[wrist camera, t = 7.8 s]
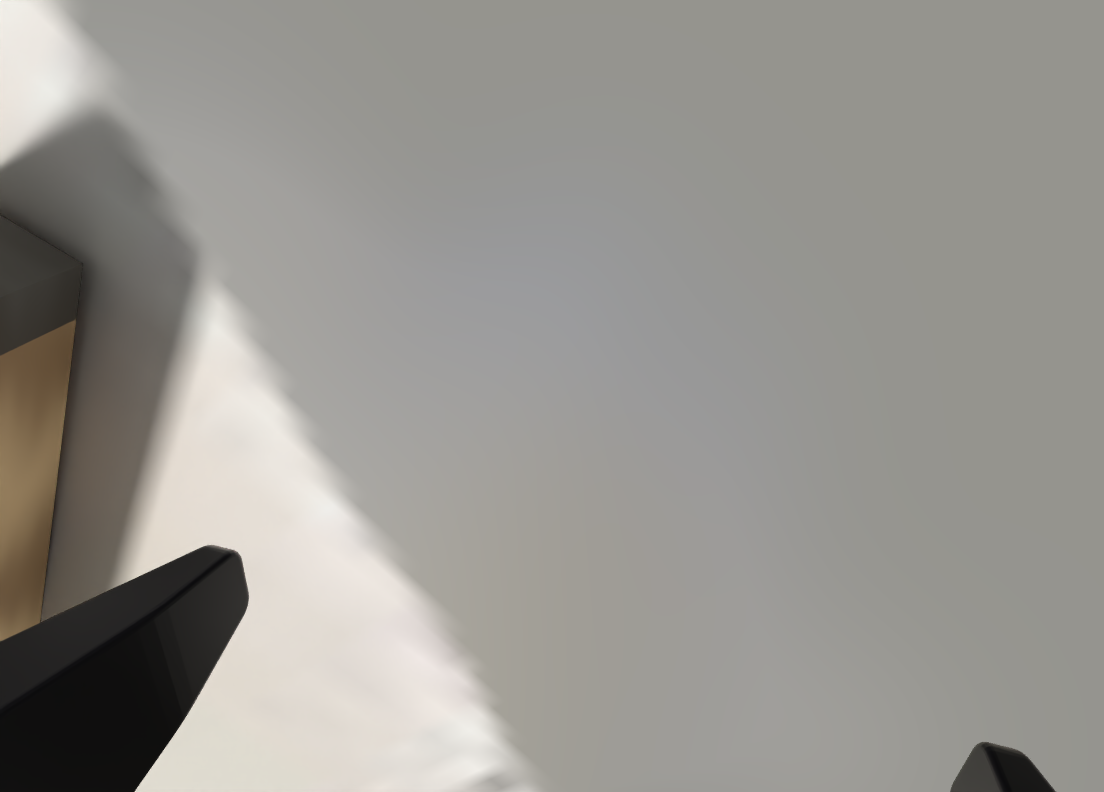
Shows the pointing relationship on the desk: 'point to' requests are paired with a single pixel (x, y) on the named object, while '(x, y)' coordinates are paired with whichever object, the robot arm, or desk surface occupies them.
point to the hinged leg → (31, 411)
